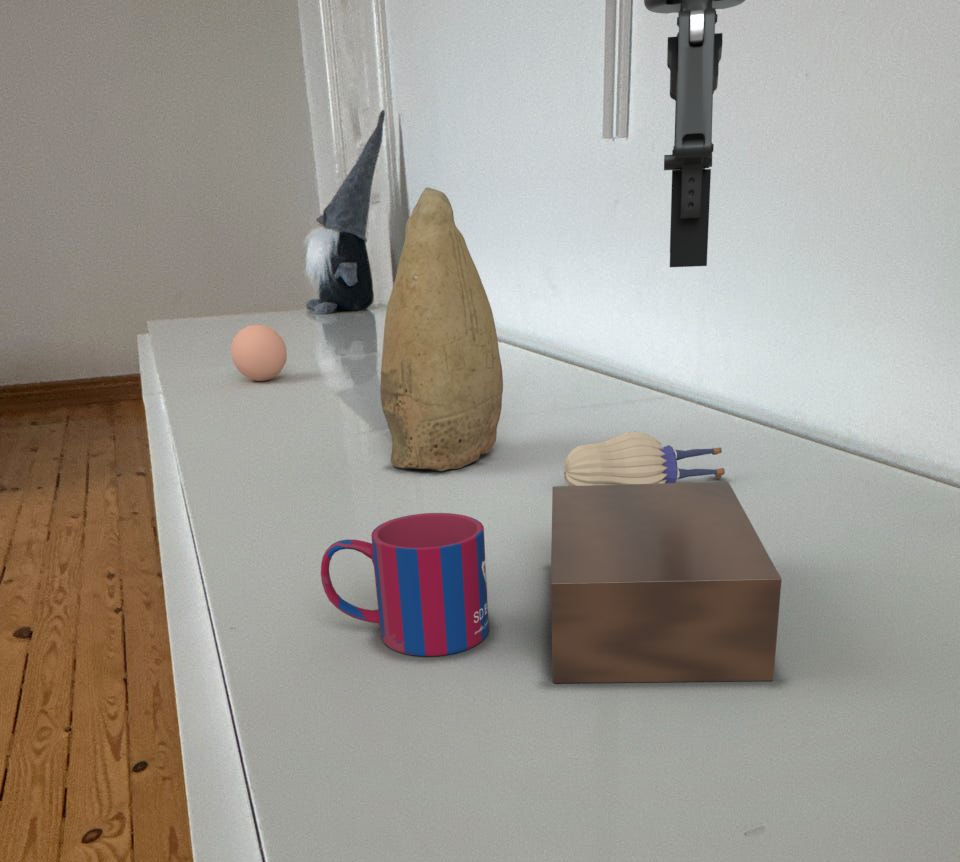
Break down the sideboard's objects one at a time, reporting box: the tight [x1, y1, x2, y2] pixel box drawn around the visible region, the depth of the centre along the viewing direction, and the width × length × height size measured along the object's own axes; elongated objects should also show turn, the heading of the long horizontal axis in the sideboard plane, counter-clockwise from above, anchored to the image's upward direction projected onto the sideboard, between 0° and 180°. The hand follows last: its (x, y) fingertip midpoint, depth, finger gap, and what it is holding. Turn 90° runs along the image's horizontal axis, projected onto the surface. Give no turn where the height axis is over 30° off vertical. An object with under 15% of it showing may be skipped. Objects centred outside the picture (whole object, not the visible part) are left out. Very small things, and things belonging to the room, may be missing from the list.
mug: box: [320, 512, 490, 657], centre depth 61 cm, size 7×10×7 cm
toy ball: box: [230, 324, 288, 382], centre depth 145 cm, size 8×8×8 cm
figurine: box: [563, 431, 726, 486], centre depth 87 cm, size 6×4×15 cm
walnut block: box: [550, 481, 782, 684], centre depth 62 cm, size 12×18×6 cm, turn 176°
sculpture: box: [379, 187, 504, 472], centre depth 95 cm, size 12×11×25 cm
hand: (686, 259), depth 81 cm, fingers open, 13 cm apart
